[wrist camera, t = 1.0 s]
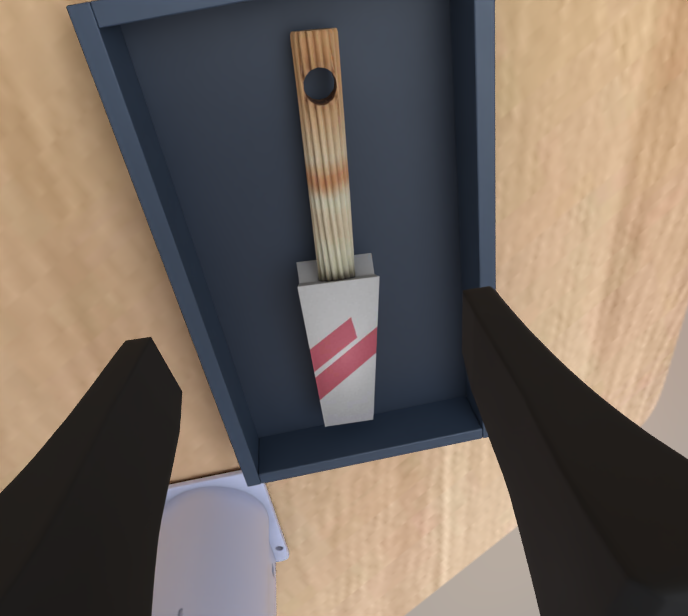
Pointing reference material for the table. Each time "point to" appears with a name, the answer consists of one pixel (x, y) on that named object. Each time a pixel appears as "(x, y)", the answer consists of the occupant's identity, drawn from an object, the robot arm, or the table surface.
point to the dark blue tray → (294, 205)
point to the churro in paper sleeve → (334, 248)
